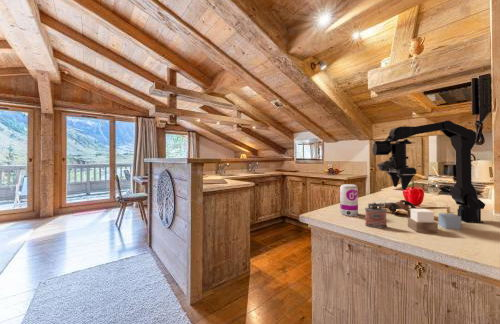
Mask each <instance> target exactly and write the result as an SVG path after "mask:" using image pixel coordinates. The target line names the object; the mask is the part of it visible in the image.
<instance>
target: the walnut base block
mask: <svg viewBox="0 0 500 324" xmlns="http://www.w3.org/2000/svg"><path fill="white" fill-rule="evenodd" d="M438 226H439V223H438V222H435V221H434V223H428V222H416V221H415V220H413V219H411V217H407V227H408V228H409V229H411V230H413V231H414V232H415V233H419V234H420V233H424V234H438V231H439V228H438Z"/></svg>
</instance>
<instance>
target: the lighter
mask: <svg viewBox="0 0 500 324" xmlns="http://www.w3.org/2000/svg"><path fill="white" fill-rule="evenodd" d="M384 207H386V205H385V203H384V202H383V203H382V202H374V201H373V202H372V203H369V202H368V203H367V207H364V210H365V224H364V225H365V227H368V228H377V229H378V228H379V229H387V228H388V225H387V212H388V210H387V209H388V208H387V209H386V208H384Z"/></svg>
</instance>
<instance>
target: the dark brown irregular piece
mask: <svg viewBox="0 0 500 324" xmlns="http://www.w3.org/2000/svg"><path fill="white" fill-rule="evenodd" d="M387 209H388V211H390V212H391V214H396V212H395V211H396V209H400V210H401V209H402V210H404V211H406V212H407V213H406V215H405V216H406V217H407V218H411V210H410V209H417V207H416V205H415V204H413V203H412V202H410V201H408V200H405V199H400V200H399V201H396V202H395V203H394V202H390V203H388V204H387Z"/></svg>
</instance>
